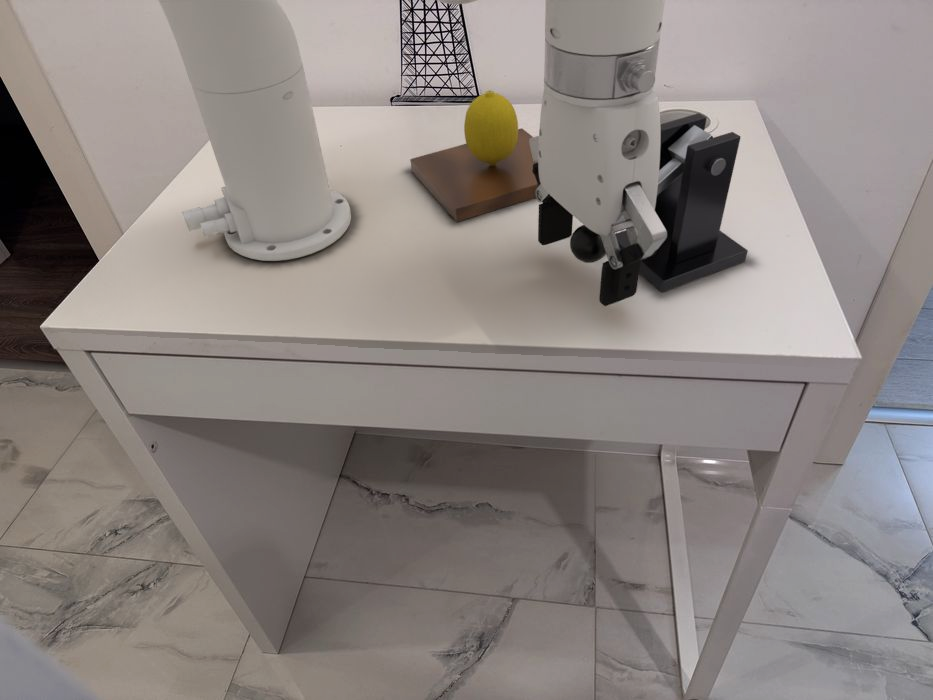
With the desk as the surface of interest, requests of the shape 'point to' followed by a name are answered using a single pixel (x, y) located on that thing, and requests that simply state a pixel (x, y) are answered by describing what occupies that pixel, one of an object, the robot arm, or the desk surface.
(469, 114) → the lemon
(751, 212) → the desk surface
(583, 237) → the lever
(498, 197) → the board
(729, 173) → the lever stand
